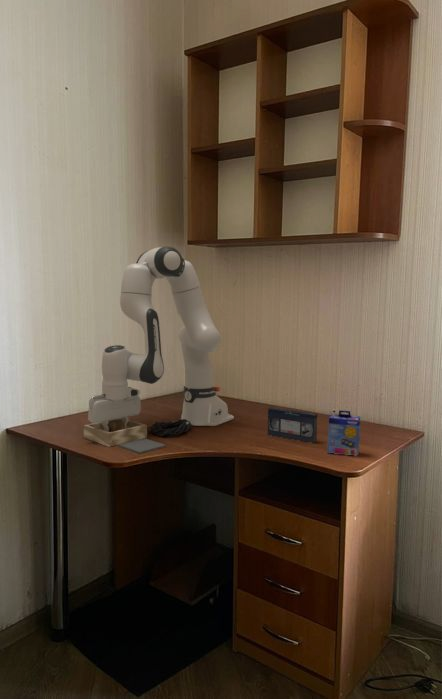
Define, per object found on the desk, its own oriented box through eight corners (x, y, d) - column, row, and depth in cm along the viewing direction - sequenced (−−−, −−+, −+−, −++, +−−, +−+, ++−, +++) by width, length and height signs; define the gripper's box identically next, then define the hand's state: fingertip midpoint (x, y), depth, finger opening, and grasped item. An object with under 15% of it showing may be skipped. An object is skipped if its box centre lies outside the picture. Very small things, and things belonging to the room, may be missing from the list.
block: (116, 435, 195) (116, 419, 194) (124, 437, 192) (124, 421, 191) (106, 437, 192) (106, 421, 191) (114, 440, 189) (113, 423, 188)
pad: (144, 440, 189) (144, 438, 189) (165, 446, 182) (165, 444, 182) (118, 446, 181) (118, 444, 181) (139, 453, 174) (139, 451, 174)
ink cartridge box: (326, 454, 176) (328, 410, 175) (328, 449, 182) (330, 406, 180) (358, 457, 174) (360, 412, 172) (359, 452, 179) (360, 408, 177)
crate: (121, 429, 203) (121, 417, 202) (146, 437, 193) (146, 425, 192) (83, 437, 191) (83, 425, 191) (109, 446, 181) (109, 433, 180)
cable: (179, 440, 191) (179, 428, 190) (142, 436, 195) (142, 425, 194) (194, 428, 207) (194, 417, 207) (160, 425, 211) (160, 414, 211)
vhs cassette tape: (266, 435, 198) (267, 408, 197) (271, 433, 200) (271, 407, 199) (313, 444, 188) (314, 415, 186) (316, 442, 190) (317, 414, 189)
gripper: (94, 397, 180) (95, 438, 182) (143, 390, 195) (143, 427, 197) (84, 395, 185) (84, 435, 186) (132, 387, 200) (132, 424, 201)
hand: (115, 431), depth 192 cm, fingers open, 5 cm apart
